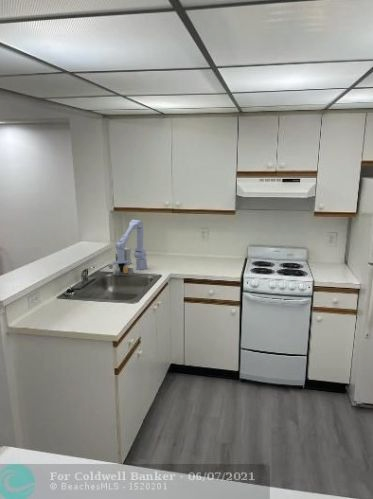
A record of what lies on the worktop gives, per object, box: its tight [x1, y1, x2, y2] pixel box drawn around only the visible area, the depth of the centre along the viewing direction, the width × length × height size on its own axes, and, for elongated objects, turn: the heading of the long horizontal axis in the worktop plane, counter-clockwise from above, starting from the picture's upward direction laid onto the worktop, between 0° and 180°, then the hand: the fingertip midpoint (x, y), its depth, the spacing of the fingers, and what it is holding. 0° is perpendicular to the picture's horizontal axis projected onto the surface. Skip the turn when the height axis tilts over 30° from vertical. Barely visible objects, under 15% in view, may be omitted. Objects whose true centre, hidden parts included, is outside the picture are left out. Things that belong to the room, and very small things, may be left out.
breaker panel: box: [112, 264, 134, 277], centre depth 303 cm, size 16×18×4 cm
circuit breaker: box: [115, 247, 132, 267], centre depth 325 cm, size 8×14×15 cm, turn 152°
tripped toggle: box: [123, 266, 129, 273], centre depth 297 cm, size 4×3×4 cm
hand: (121, 272), depth 297 cm, fingers closed
